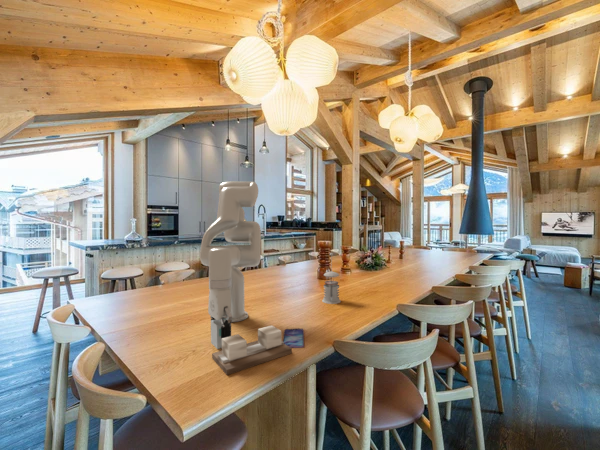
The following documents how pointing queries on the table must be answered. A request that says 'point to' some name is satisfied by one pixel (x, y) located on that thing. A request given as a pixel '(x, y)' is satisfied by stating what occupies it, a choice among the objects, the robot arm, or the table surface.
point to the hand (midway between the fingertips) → (220, 333)
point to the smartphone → (294, 338)
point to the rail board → (250, 350)
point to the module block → (216, 333)
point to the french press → (331, 288)
